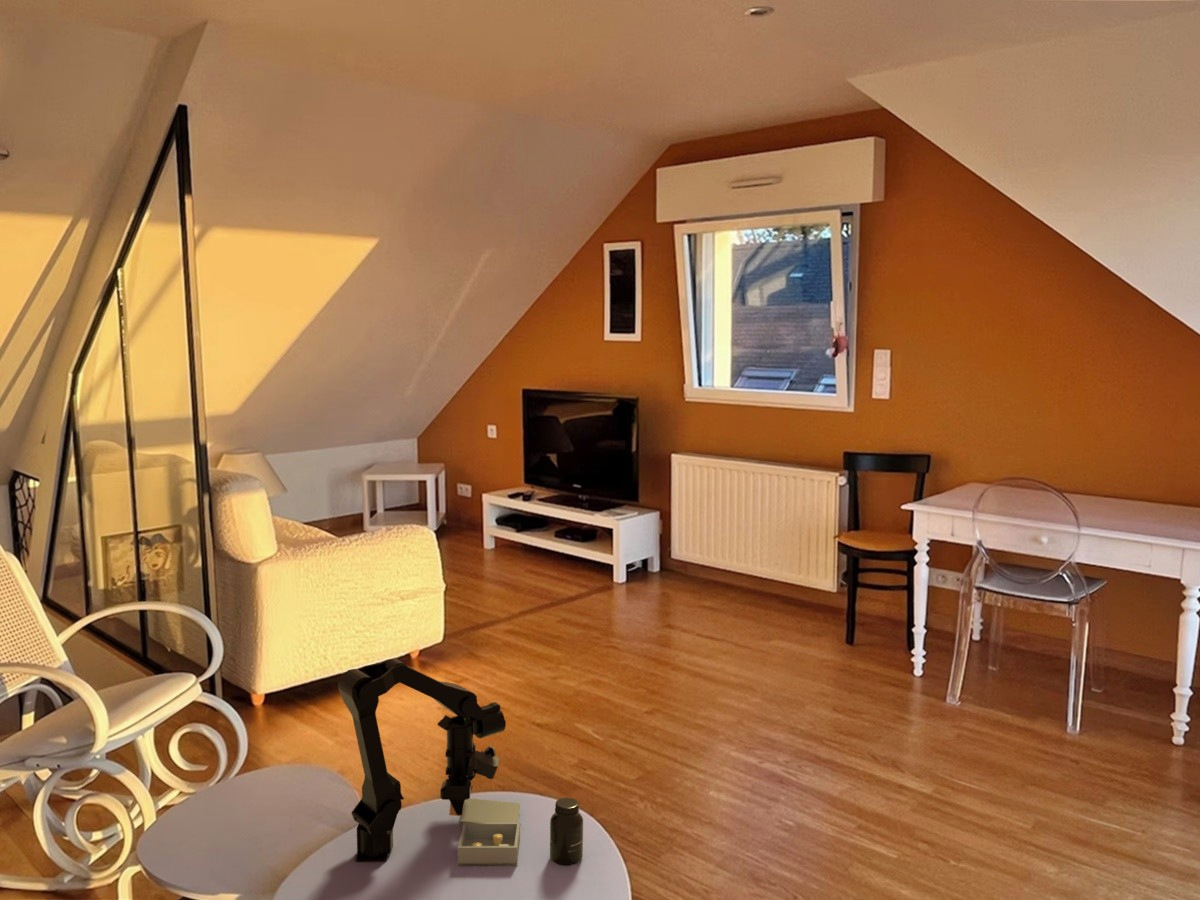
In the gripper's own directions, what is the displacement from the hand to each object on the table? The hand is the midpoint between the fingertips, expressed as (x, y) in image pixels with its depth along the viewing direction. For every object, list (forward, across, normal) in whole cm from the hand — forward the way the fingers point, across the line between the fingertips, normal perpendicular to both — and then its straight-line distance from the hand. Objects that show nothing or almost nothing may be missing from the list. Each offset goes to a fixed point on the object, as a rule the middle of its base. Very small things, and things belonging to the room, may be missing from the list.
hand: (460, 810), depth 209 cm
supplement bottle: (+3, -15, -24) cm, 28 cm away
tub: (+2, -13, -8) cm, 15 cm away
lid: (+2, 0, -5) cm, 6 cm away
